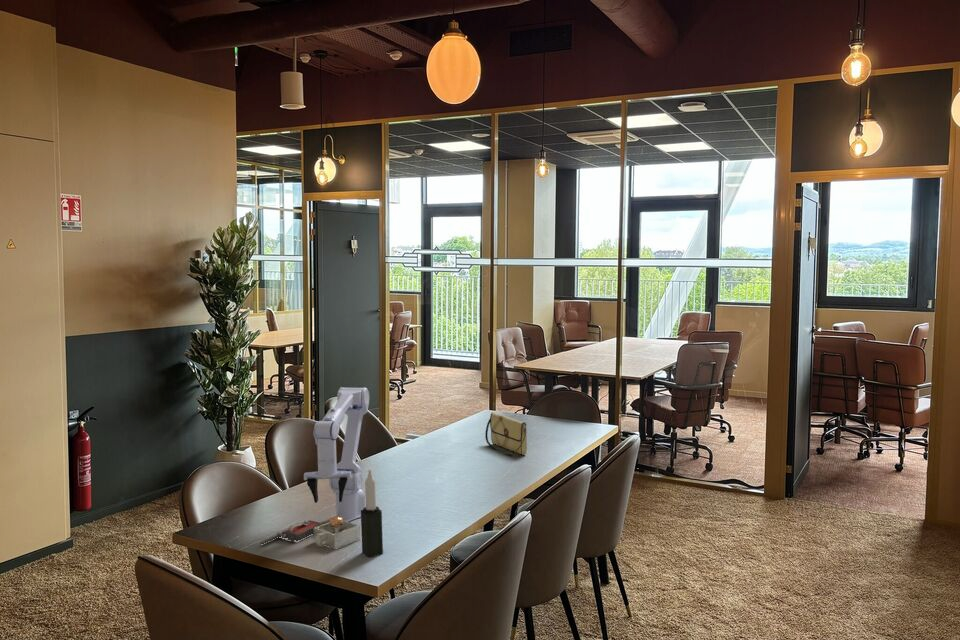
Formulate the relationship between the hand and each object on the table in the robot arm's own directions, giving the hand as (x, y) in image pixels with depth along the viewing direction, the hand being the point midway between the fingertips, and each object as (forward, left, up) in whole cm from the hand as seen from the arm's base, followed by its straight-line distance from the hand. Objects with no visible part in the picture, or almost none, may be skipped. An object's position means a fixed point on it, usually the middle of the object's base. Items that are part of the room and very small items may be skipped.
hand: (328, 501), depth 233 cm
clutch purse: (-114, -17, -11) cm, 115 cm away
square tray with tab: (+3, +7, -10) cm, 13 cm away
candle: (+3, +23, -11) cm, 25 cm away
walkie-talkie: (+9, -7, -11) cm, 16 cm away
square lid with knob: (+3, +7, -11) cm, 13 cm away
